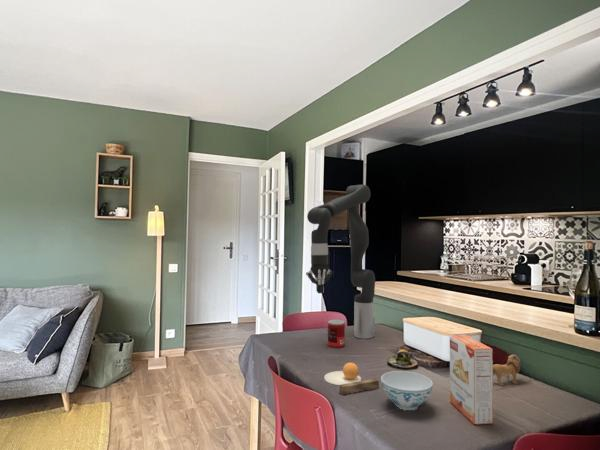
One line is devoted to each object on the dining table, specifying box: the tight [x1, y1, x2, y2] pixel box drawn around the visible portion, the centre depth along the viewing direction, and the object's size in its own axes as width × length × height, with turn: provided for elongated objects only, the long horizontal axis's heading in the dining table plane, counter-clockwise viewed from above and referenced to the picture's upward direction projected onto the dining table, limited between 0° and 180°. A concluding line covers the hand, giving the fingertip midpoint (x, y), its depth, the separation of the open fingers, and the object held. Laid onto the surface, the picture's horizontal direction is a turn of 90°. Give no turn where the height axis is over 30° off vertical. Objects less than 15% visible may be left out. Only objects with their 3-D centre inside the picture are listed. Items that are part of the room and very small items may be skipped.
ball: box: [342, 362, 360, 379], centre depth 136 cm, size 6×6×6 cm
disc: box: [324, 370, 362, 386], centre depth 137 cm, size 13×13×1 cm
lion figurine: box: [493, 354, 521, 387], centre depth 134 cm, size 15×5×9 cm, turn 116°
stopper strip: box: [338, 378, 380, 396], centre depth 127 cm, size 14×2×2 cm, turn 114°
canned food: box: [327, 319, 346, 349], centre depth 176 cm, size 8×8×11 cm
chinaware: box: [380, 370, 433, 411], centre depth 116 cm, size 15×15×8 cm
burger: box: [386, 348, 419, 369], centre depth 151 cm, size 12×12×8 cm
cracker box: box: [449, 334, 494, 425], centre depth 111 cm, size 14×6×21 cm, turn 5°
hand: (320, 293), depth 168 cm, fingers closed
